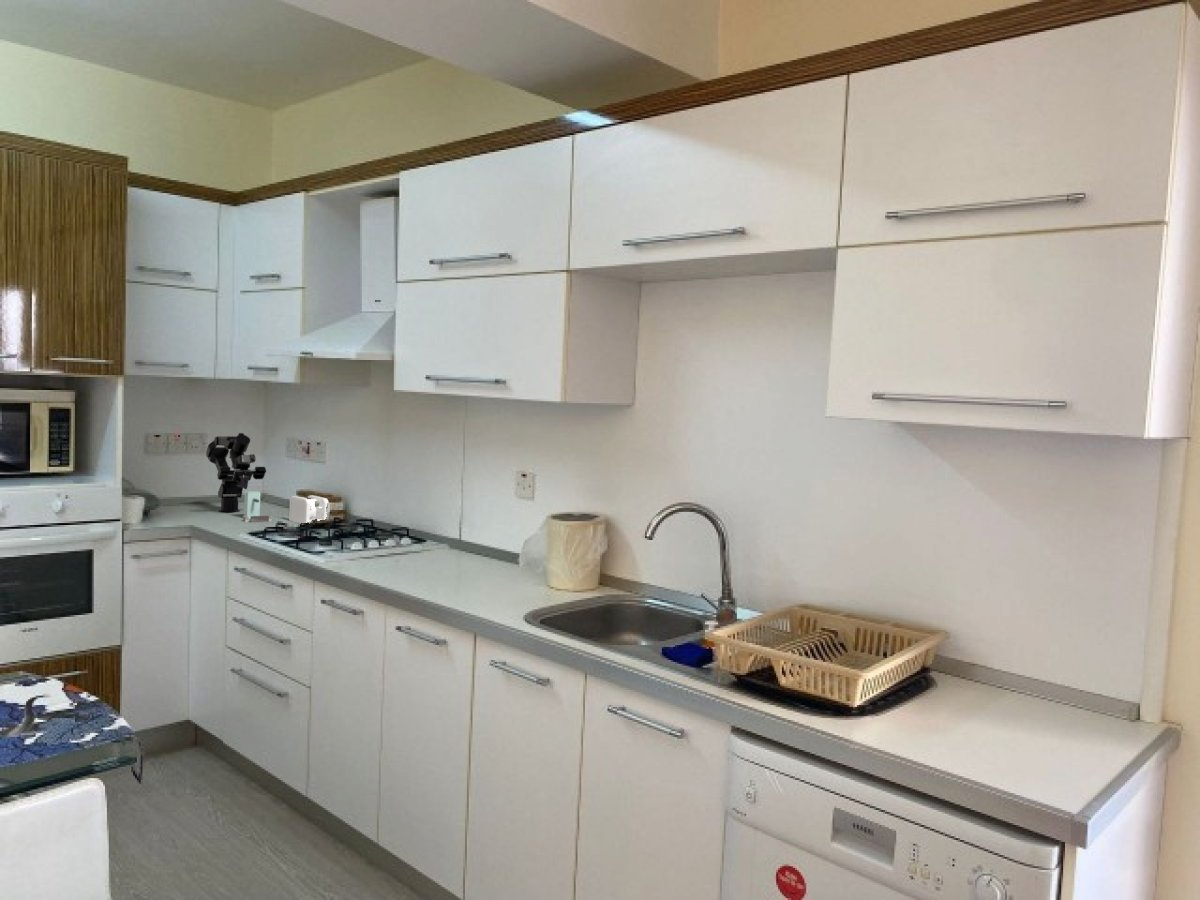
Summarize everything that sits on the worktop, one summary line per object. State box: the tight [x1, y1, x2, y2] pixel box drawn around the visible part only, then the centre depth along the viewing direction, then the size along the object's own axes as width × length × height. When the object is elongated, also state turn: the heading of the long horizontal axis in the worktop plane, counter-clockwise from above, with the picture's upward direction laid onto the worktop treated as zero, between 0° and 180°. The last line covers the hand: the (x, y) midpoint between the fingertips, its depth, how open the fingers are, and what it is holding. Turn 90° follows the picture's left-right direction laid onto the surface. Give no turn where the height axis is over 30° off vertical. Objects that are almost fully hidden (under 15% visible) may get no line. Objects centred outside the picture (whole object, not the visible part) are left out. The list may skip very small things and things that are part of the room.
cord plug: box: [243, 490, 261, 520], centre depth 361 cm, size 9×6×11 cm, turn 39°
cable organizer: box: [288, 494, 330, 525], centre depth 362 cm, size 15×11×12 cm
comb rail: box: [242, 515, 273, 523], centre depth 360 cm, size 16×12×4 cm
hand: (246, 488), depth 369 cm, fingers closed
